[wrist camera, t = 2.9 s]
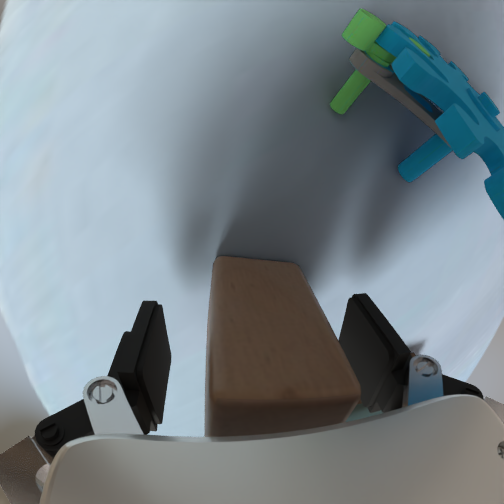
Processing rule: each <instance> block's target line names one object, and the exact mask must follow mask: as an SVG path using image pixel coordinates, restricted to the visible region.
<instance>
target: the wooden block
mask: <svg viewBox="0 0 504 504" xmlns="http://www.w3.org/2000/svg"><path fill="white" fill-rule="evenodd" d="M360 396H361V387H360V384H359V382H358V380H357V377H356V375H355V373H354V371H353V369H352V367H351V365H350V363H349V361H348V359H347V357H346V355H345V353H344V351H343V349H342V347H341V345H340V343H339V341H338V339H337V337H336V335H335V333H334V332H333V330H332V328H331V326H330V324H329V322H328V320H327V318H326V316H325V314H324V312H323V310H322V308H321V306H320V304H319V303H318V301H317V299H316V297H315V295H314V293H313V291H312V289H311V287H310V286H309V284H308V282H307V280H306V278H305V276H304V274H303V273H302V271H301V269H300V267H299V266H298V265H296V264H294V263H290V262H279V261H269V260H259V259H249V258H239V257H229V256H220V257H217V258H216V260H215V261H214V263H213V270H212V280H211V290H210V300H209V311H208V323H207V346H206V377H205V437H228V436H248V435H262V434H273V433H282V432H290V431H298V430H305V429H312V428H318V427H323V426H329V425H334V424H339V423H344V422H345V421H346V420H347V419H348V417H349V416H350V414H351V413H352V411H353V410H354V408H355V407H356V405H357V403H358V402H359V400H360Z"/></svg>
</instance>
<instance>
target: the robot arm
mask: <svg viewBox="0 0 504 504" xmlns="http://www.w3.org/2000/svg"><path fill="white" fill-rule="evenodd" d="M339 343H340V345H341V347H342V349H343V351H344V353H345V355H346V357H347V359H348V361H349V363H350V365H351V367H352V369H353V371H354V373H355V375H356V377H357V380H358V382H359V384H360V387H361V396H360V400H361V402H362V404H363V406H364V407H367V408H368V410H369V412H370V413H373V412H377V411H382V412H383V413H382V414H378V415H374V416H370V417H366V418H362V419H358V420H354V421H349V422H344V423H339V424H334V425H329V426H323V427H318V428H312V429H305V430H298V431H290V432H282V433H273V434H262V435H248V436H228V437H181V436H158V435H147V434H148V433H150V431H157V424H162V420H163V412H164V405H165V398H166V391H167V384H168V377H169V371H170V365H171V351H170V346H169V341H168V336H167V330H166V325H165V319H164V313H163V307H162V305H158V303H157V301H143V302H142V304H141V307H140V309H139V312H138V314H137V317H136V320H135V322H134V325H133V328H132V330H131V332H127V331H126V332H124V334H123V336H122V338H121V341H120V343H119V346H118V349H117V351H116V354H115V357H114V359H113V362H112V365H111V368H110V370H109V373H108V376H101V377H96V378H94V379H92V380H90V381H89V382H88V383H87V384H86V385H85V387H84V390H83V398H84V399H82V400H81V401H79V402H77V403H75V404H73V405H71V406H69V407H67V408H65V409H63V410H61V411H59V412H57V413H55V414H53V415H51V416H49V417H47V418H45V419H44V420H42V421H41V422H40V423H39V424H38V425H37V427H36V430H35V436H33V437H32V438H31V437H30V436H28V437H26V438H24V439H23V440H21V441H20V442H18V443H17V444H15V445H14V446H12V447H11V448H9V449H8V450H6V451H5V452H3V453H2V454H0V485H1V487H2V489H3V490H4V493H5V494H6V496H7V498H8V499H9V501H10V503H11V504H504V404H501V403H499V402H497V401H495V400H493V399H491V398H488V397H485V399H483V395H482V393H481V391H480V390H479V389H478V388H477V387H475V386H474V385H471V384H468V383H466V382H463V381H460V380H457V379H454V378H451V377H448V376H445V375H443V374H442V370H441V366H440V364H439V363H438V362H437V361H436V360H435V359H434V358H432V357H430V356H427V355H416V356H414V357H412V355H411V354H410V353H411V351H410V350H409V348H408V347H407V346H406V344H405V343H404V342H403V340H402V339H401V338H400V336H399V335H398V334H397V332H396V331H395V330H394V328H393V327H392V326H391V324H390V323H389V322H388V320H387V319H386V318H385V316H384V315H383V314H382V313H381V311H380V310H379V309H378V307H377V306H376V305H375V304H374V302H373V301H372V300H371V299H370V297H369V296H368V295H367V294H366V293H363V294H354V295H353V296H352V298H349V300H348V303H347V308H346V312H345V316H344V321H343V325H342V329H341V333H340V337H339Z"/></svg>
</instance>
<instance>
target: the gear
mask: <svg viewBox="0 0 504 504" xmlns="http://www.w3.org/2000/svg"><path fill="white" fill-rule="evenodd" d="M384 28H385V29H384ZM380 33H381V34H380ZM342 37H343V38H344V39H345V40H346V41H347V42H349V43H350V44H351V45H353V46H354V47H356V50H355V51H354V53H353V54H352V55H351V57H350V58H349V61H350V63H351V64H352V65H353V67H354V68H355V69H356V70H355V71H354V72H353V74H352V75H351V76H350V78H349V79H348V80H347V82H346V83H345V84H344V86H343V87H342V88H341V90H340V91H339V92H338V93H337V95H336V96H335V97H334V99H333V100H332V101H331V103H330V106H331V108H332V109H333V110H334V111H335V112H337V113H339V114H344V113H345V112H346V111H347V109H348V108H349V107H350V106H351V105H352V103H353V102H354V101H355V100H356V99H357V97H358V96H359V95H360V94H361V92H362V91H363V90H364V89H365V88H366V86H367V85H368V84H369V83H370V82H371V81H372V82H373V83H375V84H376V85H378V86H379V87H380V88H382V89H383V90H384V91H386V92H387V93H388V94H390V95H391V96H392V97H394V98H395V99H396V100H398V101H399V102H400V103H401V104H403V105H404V106H405V107H406V108H407V109H409V110H410V111H411V112H412V113H414V114H415V115H416V116H417V117H418V118H419V119H421V120H422V121H423V122H424V123H425V124H426V125H427V126H428V127H430V128H431V129H432V130H433V131H434V132H435V133H436V134H435V135H434V136H432V137H431V138H430V139H429V140H428V141H426V142H425V143H424V144H423V145H422V146H421V147H419V148H418V149H417V150H416V151H415V152H413V153H412V154H411V155H410V156H409V157H407V158H406V159H405V160H404V161H403V162H401V163H400V164H399V165H398V171H399V173H400V175H401V176H402V177H403V179H405V180H406V181H407V182H412V181H413V180H415V179H416V178H417V177H419V176H420V175H421V174H423V173H424V172H425V171H427V170H428V169H429V168H431V167H432V166H433V165H435V164H436V163H437V162H439V161H440V160H441V159H442V158H444V157H445V156H446V155H448V154H449V153H450V152H452V151H454V153H455V154H456V155H457V156H458V157H459V158H461V159H464V158H466V157H467V156H468V155H470V154H471V153H472V152H475V153H476V154H478V155H479V156H480V157H481V158H482V159H483V161H484V162H485V164H486V165H487V167H488V169H489V171H490V173H491V176H490V177H489V178H487V179H486V180H485V181H484V184H485V188H486V192H487V193H488V195H489V197H490V199H491V201H492V202H493V204H494V206H495V207H496V209H497V210H498V212H499V213H500V215H501V216H502V218H503V219H504V127H503V126H502V124H501V123H500V122H499V121H498V119H497V118H496V117H495V116H497V115H498V114H499V113H500V112H499V110H498V108H497V107H496V105H495V104H494V103H493V101H492V100H491V99H490V98H489V96H488V95H487V94H486V93H485V92H483V93H482V94H481V95H480V94H478V93H477V92H476V91H475V90H474V89H473V88H472V87H471V86H470V85H469V84H468V82H467V81H468V80H469V79H468V78H467V77H466V75H465V74H464V73H463V72H462V71H461V70H460V69H459V68H458V67H457V66H456V65H455V64H454V63H453V62H452V61H451V62H450V63H449V64H447V63H446V62H445V61H444V60H443V59H442V58H441V56H440V54H441V53H440V52H439V51H438V50H437V49H436V48H435V47H434V46H433V45H432V44H431V43H429V42H428V41H427V40H426V39H424V38H423V37H422V36H419V37H418V38H417V37H416V36H415V35H414V34H413V33H412V32H411V31H410V30H408V29H407V28H405V27H404V26H402V25H401V24H399V23H397V22H395V21H394V22H393V23H392V24H391V25H390V24H388V25H387V26H386V24H385V23H384V22H382V21H381V20H380V19H379V18H377V17H376V16H374V15H373V14H371V13H369V12H368V11H366V10H364V9H359V10H358V12H357V13H356V15H355V16H354V17H353V19H352V20H351V22H350V23H349V25H348V26H347V28H346V29H345V30H344V32H343V33H342ZM377 37H378V38H377ZM391 63H392V66H391ZM424 96H425V97H426V98H428V99H429V100H431V101H432V102H433V103H435V104H436V105H437V106H438V107H439V108H441V109H442V110H443V111H444V113H442V112H441V111H440V110H439V109H437V108H436V107H435V106H434V105H433V104H432V103H431V102H430V101H429V100H428V99H426V98H425V97H424Z"/></svg>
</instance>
